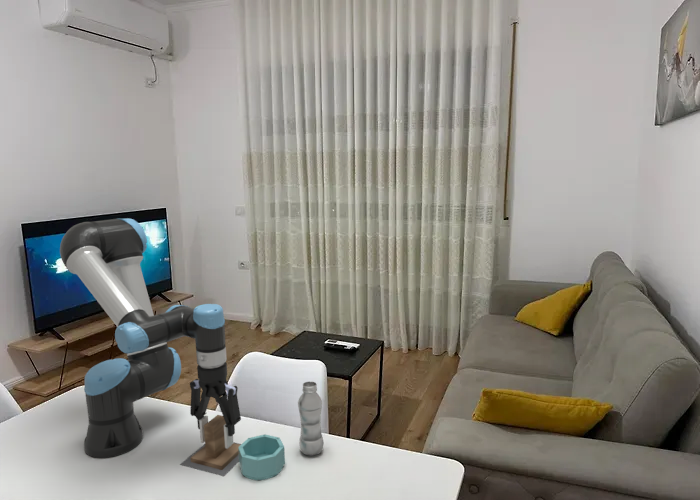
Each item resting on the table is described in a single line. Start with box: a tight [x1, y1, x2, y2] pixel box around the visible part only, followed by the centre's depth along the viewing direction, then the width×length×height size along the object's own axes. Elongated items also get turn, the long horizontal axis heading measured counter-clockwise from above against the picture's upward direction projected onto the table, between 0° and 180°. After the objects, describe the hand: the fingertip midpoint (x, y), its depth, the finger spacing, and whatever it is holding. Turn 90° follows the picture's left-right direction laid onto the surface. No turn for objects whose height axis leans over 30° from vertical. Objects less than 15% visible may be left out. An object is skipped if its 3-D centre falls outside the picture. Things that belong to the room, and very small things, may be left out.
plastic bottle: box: [297, 381, 324, 457], centre depth 135 cm, size 6×7×20 cm
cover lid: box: [191, 414, 240, 470], centre depth 134 cm, size 10×10×10 cm
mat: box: [179, 441, 242, 477], centre depth 135 cm, size 14×14×1 cm
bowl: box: [238, 433, 286, 481], centre depth 130 cm, size 11×11×6 cm
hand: (217, 442), depth 135 cm, fingers open, 7 cm apart
